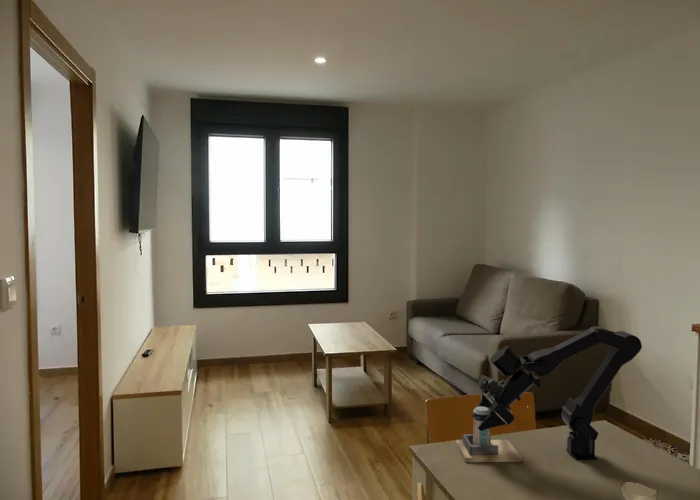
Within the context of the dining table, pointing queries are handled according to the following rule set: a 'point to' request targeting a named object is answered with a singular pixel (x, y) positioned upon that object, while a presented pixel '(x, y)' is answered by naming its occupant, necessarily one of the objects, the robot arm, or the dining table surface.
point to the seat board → (487, 451)
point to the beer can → (478, 418)
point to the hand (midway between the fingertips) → (476, 423)
